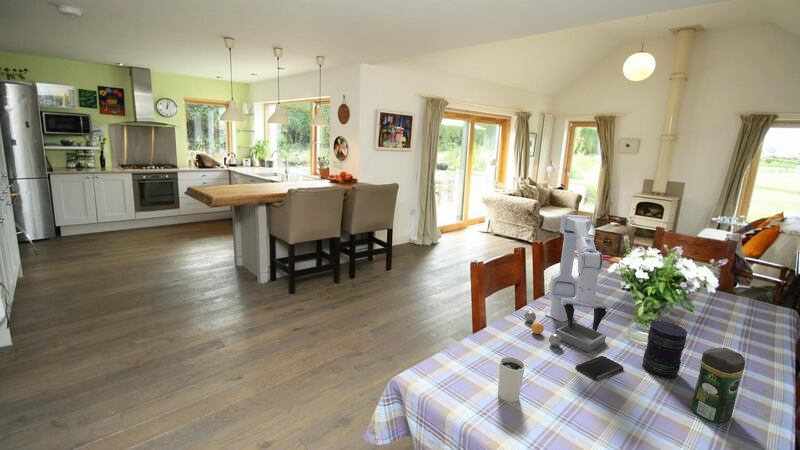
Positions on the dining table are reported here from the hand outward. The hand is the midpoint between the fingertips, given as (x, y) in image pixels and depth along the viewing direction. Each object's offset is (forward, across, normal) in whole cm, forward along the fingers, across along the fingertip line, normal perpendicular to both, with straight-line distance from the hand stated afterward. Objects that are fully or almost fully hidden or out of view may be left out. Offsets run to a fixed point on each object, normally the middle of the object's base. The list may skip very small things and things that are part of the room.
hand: (582, 328), depth 129 cm
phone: (+12, +5, -4) cm, 13 cm away
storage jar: (+11, +25, +1) cm, 27 cm away
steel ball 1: (+4, -13, +24) cm, 27 cm away
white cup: (+15, -25, -25) cm, 38 cm away
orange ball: (+6, -11, +15) cm, 20 cm away
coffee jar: (+14, +29, -18) cm, 37 cm away
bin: (+8, +4, +14) cm, 17 cm away
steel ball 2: (+7, -6, +7) cm, 12 cm away
